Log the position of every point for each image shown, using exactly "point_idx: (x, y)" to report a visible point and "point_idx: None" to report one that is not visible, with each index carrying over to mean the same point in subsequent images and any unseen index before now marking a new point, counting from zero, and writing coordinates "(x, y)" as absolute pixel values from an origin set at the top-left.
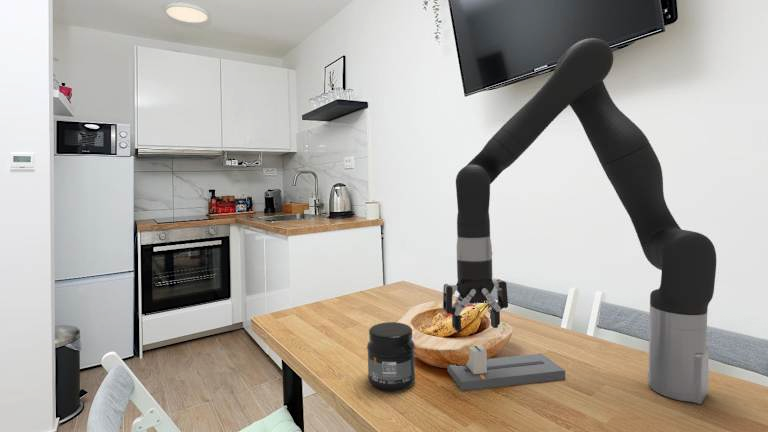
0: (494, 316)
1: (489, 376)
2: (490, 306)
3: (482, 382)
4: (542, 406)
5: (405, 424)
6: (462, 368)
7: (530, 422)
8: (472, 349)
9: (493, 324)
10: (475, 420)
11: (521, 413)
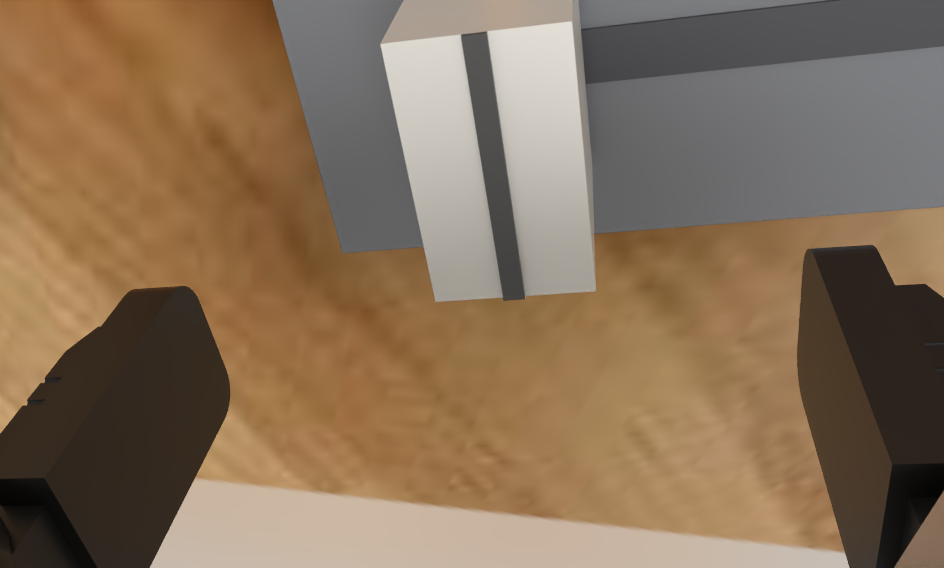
0: (846, 532)
1: (600, 199)
2: (920, 538)
3: None
4: None
5: None
6: (386, 27)
7: (669, 515)
8: (436, 247)
9: (811, 365)
10: (386, 471)
11: (663, 455)
